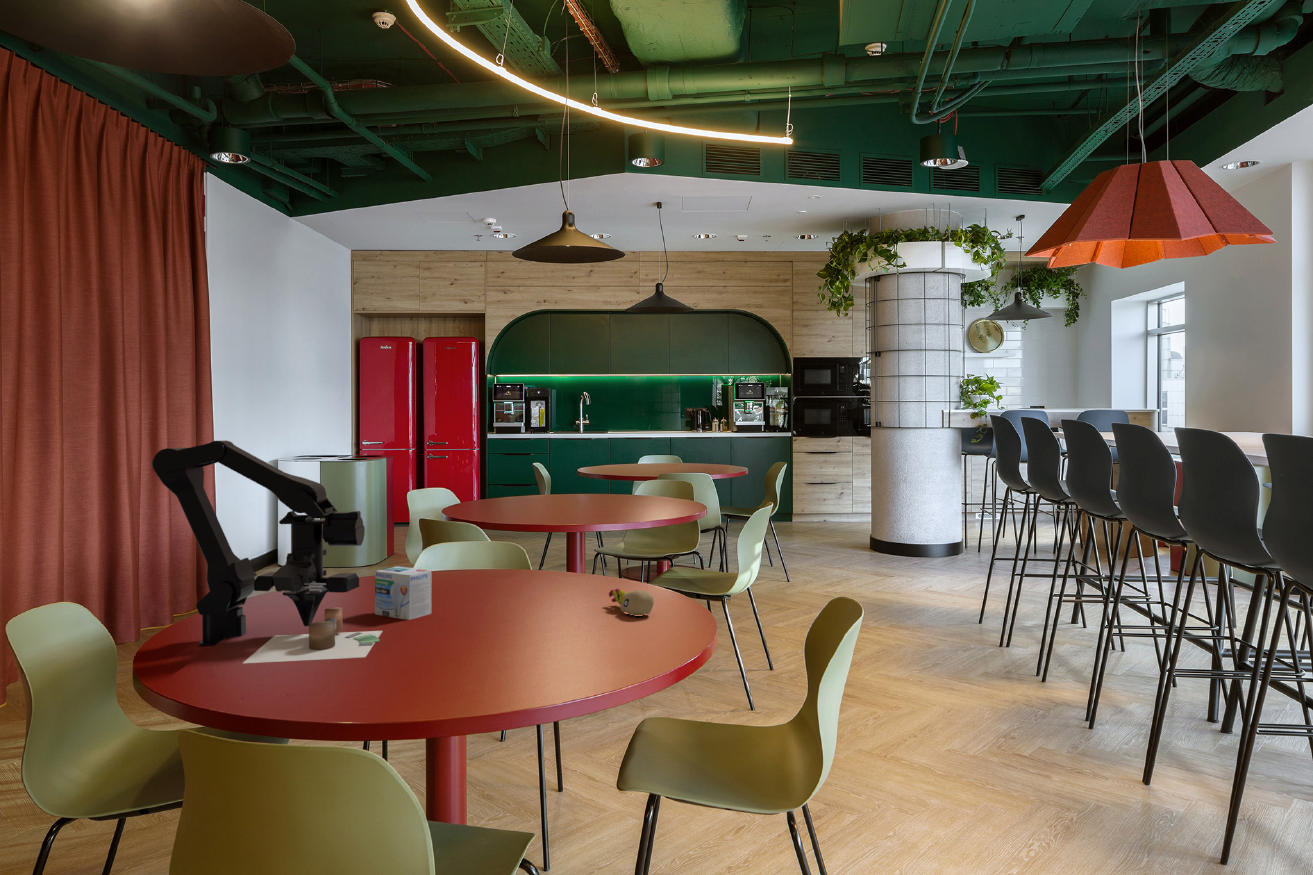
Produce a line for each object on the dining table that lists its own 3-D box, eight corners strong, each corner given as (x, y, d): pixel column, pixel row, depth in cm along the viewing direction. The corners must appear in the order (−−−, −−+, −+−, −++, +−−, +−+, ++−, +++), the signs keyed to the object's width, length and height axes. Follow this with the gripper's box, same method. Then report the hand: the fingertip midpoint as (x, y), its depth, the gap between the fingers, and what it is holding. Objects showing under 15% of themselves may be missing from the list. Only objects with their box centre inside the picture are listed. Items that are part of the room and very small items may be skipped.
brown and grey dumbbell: (332, 648, 139) (331, 622, 139) (306, 649, 139) (306, 623, 139) (347, 630, 152) (347, 606, 152) (323, 631, 151) (323, 607, 151)
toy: (596, 593, 178) (627, 605, 165) (620, 575, 181) (652, 585, 168) (608, 614, 179) (639, 627, 166) (631, 596, 183) (663, 607, 170)
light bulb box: (373, 620, 166) (373, 570, 166) (397, 613, 172) (397, 565, 172) (409, 625, 161) (409, 574, 161) (433, 618, 167) (432, 569, 167)
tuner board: (242, 670, 131) (242, 662, 131) (274, 641, 149) (274, 634, 149) (370, 663, 135) (370, 655, 135) (387, 636, 153) (387, 629, 153)
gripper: (235, 552, 143) (236, 635, 143) (332, 553, 142) (332, 638, 142) (270, 543, 154) (271, 620, 154) (360, 544, 153) (360, 622, 153)
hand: (307, 625), depth 151 cm, fingers closed
